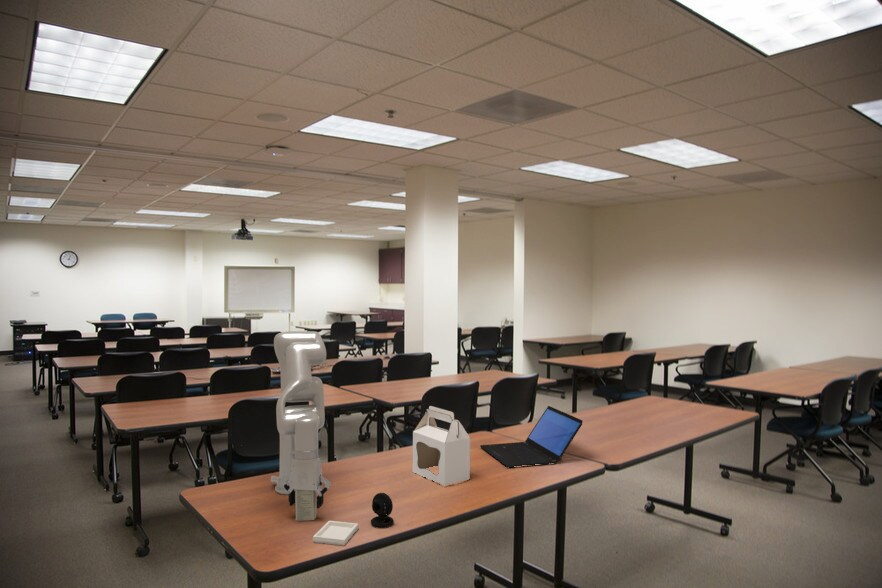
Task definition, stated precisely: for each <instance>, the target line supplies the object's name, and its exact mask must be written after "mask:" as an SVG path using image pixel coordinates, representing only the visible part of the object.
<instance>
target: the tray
mask: <svg viewBox="0 0 882 588" xmlns="http://www.w3.org/2000/svg"><path fill="white" fill-rule="evenodd" d="M358 530H359V523H357V522H356V523H355V522H347V521H346V522H345V521H336V520H328V521H327V522H326V523H325V524H324V525H322V527H321V528H319V530H318V531H316V533H315V534H314V535H313V536H312V543H313V542H315V544H322V543H325V544H324V545H331V544H332V545H333V546H340V545H343V546H342V547H345V546H346V545H345V544H348V542H349V541H350V540H351V539H352V537H353V536H354V535H355V534H356V533H357V531H358ZM355 532H356V533H355ZM354 533H355V534H354ZM353 534H354V535H353ZM350 538H351V539H350ZM349 539H350V540H349ZM348 540H349V541H348ZM344 545H345V546H344Z"/></svg>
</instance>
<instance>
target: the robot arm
mask: <svg viewBox="0 0 882 588" xmlns="http://www.w3.org/2000/svg"><path fill="white" fill-rule="evenodd" d="M273 347H274V352H275V356H276V358H277V361H278V363H279V368H280V395H279V397H278V399H277V402H276V407H275V410H276V411H275V413H276V428H277V431H278V434H279V474H278V476H276V475H271V476H270V483H272V484H276V485H275V487H274V491H275V492H276V493H277V494H281V495H288V503H289V506H290V507H292V506H293V505H294V504H295V490H305V491H316V509H320V508H321V507H322V506H323V505H324V501H325V500H324V497H325V496H324V494H325V493H327V491H328V490H329V489H330V487H331V485H332V481H331V480H330V479H327V478H326V477H324V476H323V469H322V468H323V467H322V463H321V458H320V457H319V430H320V429H322V428H323V427H324V425H325V421H326V419H325V416H326V415H325V392H324V390H325V389H324V383H323V381H322V379H321V378H320V377H319V376H312V367H311V366H317V365H324V364H325V362H326V360H327V349H326V345H325V342H324V340H323V338H322V336H321V334H320V333H319V332H318V331H315V330H310V331H308V330H307V331H305V330H304V331H301V330H300V331H299V330H298V331H293V330H292V331H282V332H279V333H277V334H276V335H275V336H274V338H273ZM300 402H301V403H302V402H303V403H304V402H310V403H311V404H303V405H302V404H301V405H300V404H298V405H288V406H286V403H300ZM323 484H324V487H323Z"/></svg>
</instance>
